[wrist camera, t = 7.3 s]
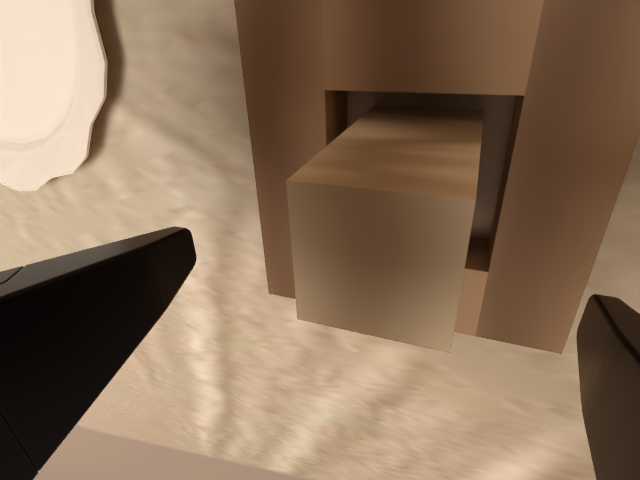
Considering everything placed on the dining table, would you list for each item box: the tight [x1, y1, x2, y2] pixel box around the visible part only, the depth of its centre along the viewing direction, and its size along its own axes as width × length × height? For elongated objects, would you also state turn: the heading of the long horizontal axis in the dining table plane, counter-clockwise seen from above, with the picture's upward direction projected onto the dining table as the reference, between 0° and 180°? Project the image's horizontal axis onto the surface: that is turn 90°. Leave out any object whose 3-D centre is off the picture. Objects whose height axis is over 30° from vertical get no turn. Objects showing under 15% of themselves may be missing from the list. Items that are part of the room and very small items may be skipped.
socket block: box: [234, 0, 640, 354], centre depth 15 cm, size 12×12×3 cm
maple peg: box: [286, 107, 484, 353], centre depth 13 cm, size 4×4×8 cm
